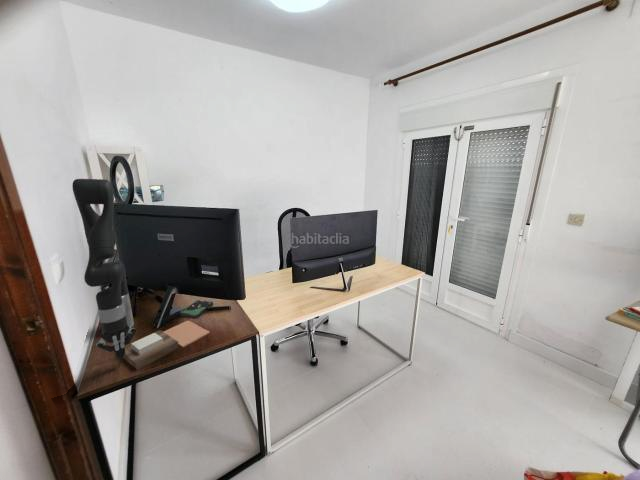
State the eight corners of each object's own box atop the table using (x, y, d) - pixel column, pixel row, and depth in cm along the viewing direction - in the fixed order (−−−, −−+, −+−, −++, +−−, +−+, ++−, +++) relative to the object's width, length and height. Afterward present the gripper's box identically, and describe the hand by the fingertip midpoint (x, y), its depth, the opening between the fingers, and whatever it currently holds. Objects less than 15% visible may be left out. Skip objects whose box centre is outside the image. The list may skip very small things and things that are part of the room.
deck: (120, 355, 105) (119, 348, 104) (161, 335, 118) (160, 330, 118) (137, 370, 97) (136, 363, 97) (178, 347, 110) (178, 341, 110)
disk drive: (197, 304, 149) (180, 317, 135) (196, 300, 148) (179, 312, 134) (213, 305, 148) (198, 319, 133) (213, 301, 147) (197, 314, 133)
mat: (161, 333, 120) (161, 332, 120) (188, 321, 130) (188, 320, 130) (182, 347, 110) (182, 346, 110) (209, 332, 121) (209, 331, 121)
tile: (131, 348, 105) (131, 343, 104) (155, 337, 112) (154, 332, 112) (139, 354, 101) (139, 349, 101) (163, 343, 108) (162, 338, 108)
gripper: (128, 306, 102) (135, 344, 106) (86, 321, 91) (95, 362, 95) (137, 312, 98) (144, 350, 102) (93, 328, 87) (103, 371, 91)
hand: (120, 356), depth 99 cm, fingers closed
